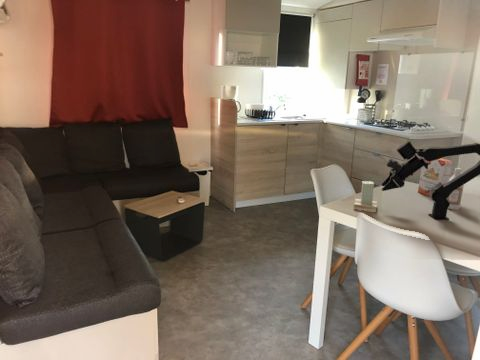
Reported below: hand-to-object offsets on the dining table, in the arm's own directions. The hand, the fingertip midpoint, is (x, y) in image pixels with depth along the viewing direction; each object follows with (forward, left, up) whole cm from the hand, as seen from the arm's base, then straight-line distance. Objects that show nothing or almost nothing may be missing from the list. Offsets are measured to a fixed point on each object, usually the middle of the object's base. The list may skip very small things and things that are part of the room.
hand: (382, 187), depth 189 cm
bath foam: (+5, -39, -11) cm, 41 cm away
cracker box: (+26, -40, -11) cm, 49 cm away
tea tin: (+2, +6, -8) cm, 10 cm away
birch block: (+2, +6, -11) cm, 13 cm away
